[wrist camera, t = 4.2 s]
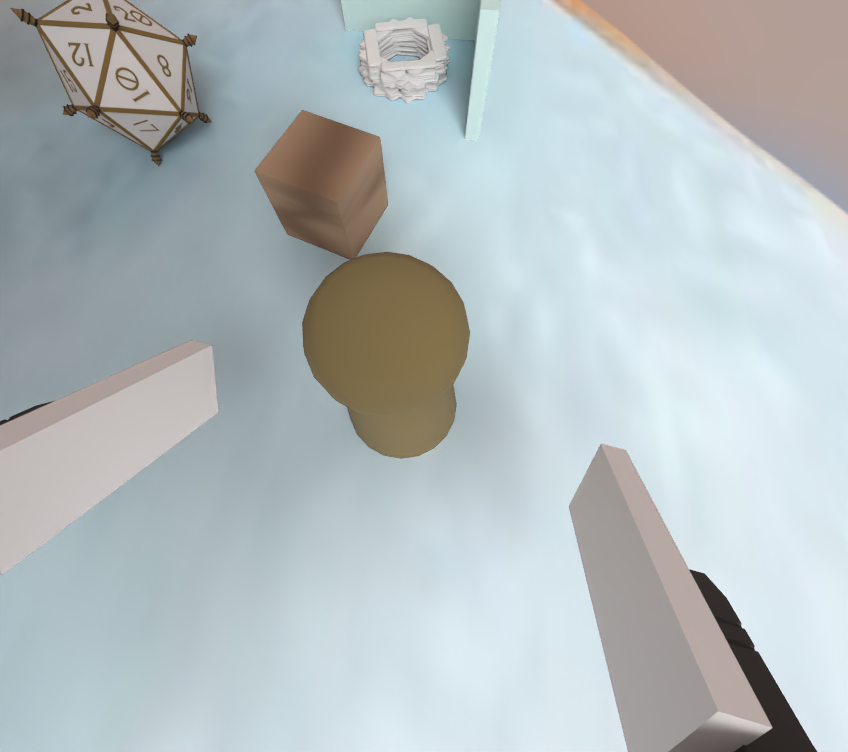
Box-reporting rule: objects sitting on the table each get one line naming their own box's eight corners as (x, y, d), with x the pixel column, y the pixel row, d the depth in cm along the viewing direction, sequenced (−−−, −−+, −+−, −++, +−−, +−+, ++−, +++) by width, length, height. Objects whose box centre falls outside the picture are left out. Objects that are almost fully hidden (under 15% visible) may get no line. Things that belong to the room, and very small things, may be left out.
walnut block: (287, 235, 24) (254, 170, 19) (324, 181, 25) (302, 109, 21) (354, 261, 23) (336, 202, 19) (388, 205, 25) (380, 137, 20)
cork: (416, 335, 22) (410, 187, 11) (478, 416, 20) (537, 333, 10) (329, 391, 20) (231, 285, 10) (387, 481, 19) (344, 466, 9)
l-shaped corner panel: (347, 23, 31) (325, -119, 23) (488, 34, 30) (508, -107, 23) (319, 126, 27) (282, -6, 20) (479, 140, 27) (500, 10, 19)
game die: (197, 159, 31) (152, -8, 25) (249, 170, 26) (210, -29, 21) (61, 162, 25) (-37, -56, 19) (101, 176, 21) (-10, -98, 15)
